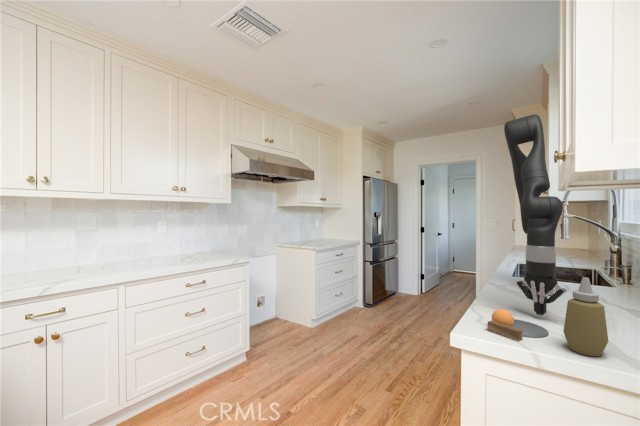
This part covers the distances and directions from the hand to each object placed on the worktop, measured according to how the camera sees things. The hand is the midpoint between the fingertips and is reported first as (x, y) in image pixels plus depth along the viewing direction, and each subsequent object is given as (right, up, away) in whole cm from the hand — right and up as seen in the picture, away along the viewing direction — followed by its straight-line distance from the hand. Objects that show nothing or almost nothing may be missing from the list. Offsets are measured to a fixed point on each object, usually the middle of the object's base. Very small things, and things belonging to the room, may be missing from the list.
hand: (539, 314), depth 91 cm
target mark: (-11, -2, -7) cm, 13 cm away
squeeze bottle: (-5, -2, -21) cm, 21 cm away
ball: (-16, +1, -7) cm, 18 cm away
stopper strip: (-19, -2, -12) cm, 22 cm away
